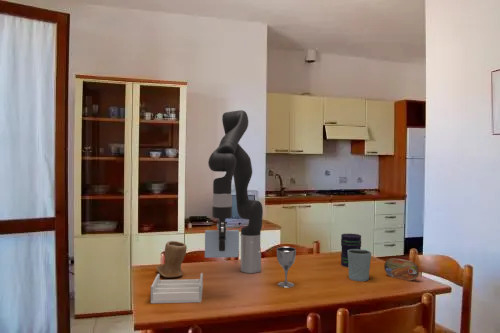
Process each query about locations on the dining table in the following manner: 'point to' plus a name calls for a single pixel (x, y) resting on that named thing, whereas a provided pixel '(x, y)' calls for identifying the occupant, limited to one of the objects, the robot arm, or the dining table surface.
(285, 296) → the dining table surface
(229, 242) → the blue-grey rectangular slab
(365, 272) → the grey tapered cup
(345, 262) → the storage jar
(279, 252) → the wine glass
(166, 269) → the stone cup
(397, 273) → the tin
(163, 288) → the dish rack
